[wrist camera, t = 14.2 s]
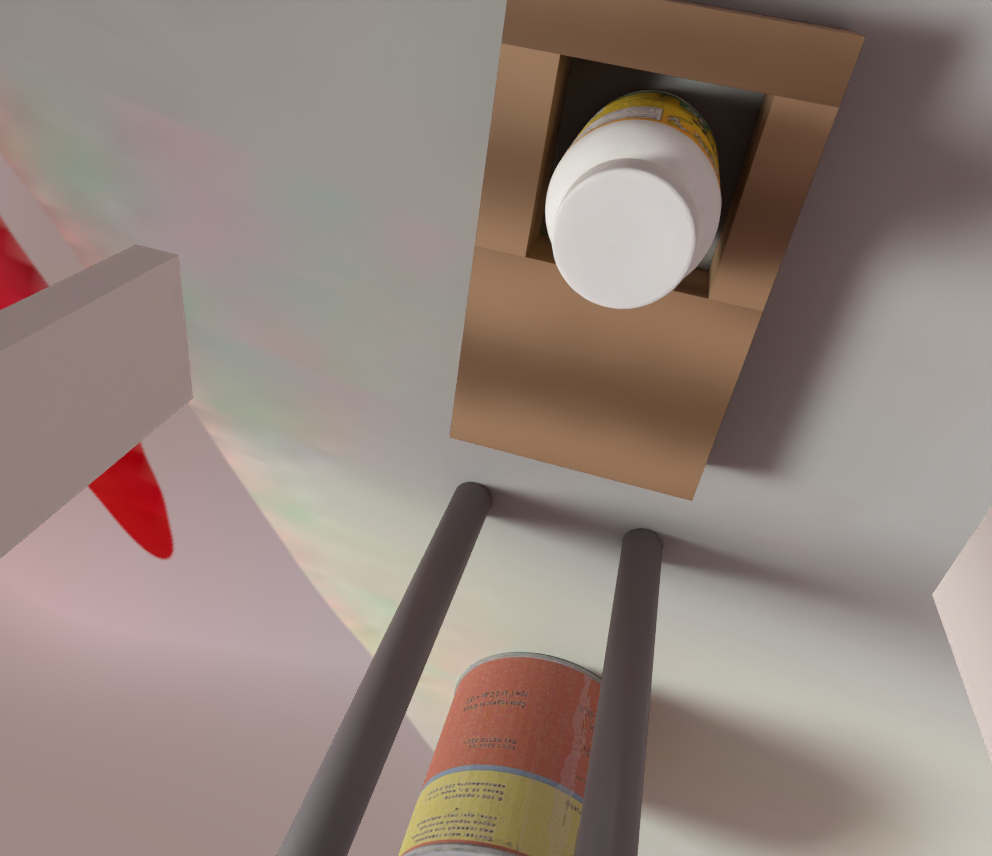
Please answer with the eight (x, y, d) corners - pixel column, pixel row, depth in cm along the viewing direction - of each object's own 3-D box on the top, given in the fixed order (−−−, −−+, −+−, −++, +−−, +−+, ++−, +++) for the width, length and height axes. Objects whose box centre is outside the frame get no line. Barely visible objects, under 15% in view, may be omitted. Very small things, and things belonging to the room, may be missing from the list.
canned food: (461, 755, 51) (401, 946, 41) (448, 638, 45) (374, 828, 35) (627, 787, 48) (606, 999, 38) (636, 668, 42) (613, 881, 32)
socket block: (529, -27, 26) (510, -27, 23) (849, 30, 25) (865, 36, 22) (467, 405, 36) (449, 437, 33) (693, 462, 34) (691, 500, 32)
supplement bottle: (564, 104, 28) (508, 158, 20) (712, 73, 26) (715, 118, 18) (587, 243, 30) (545, 340, 22) (724, 223, 29) (730, 320, 21)
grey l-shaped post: (470, 308, 33) (1, 965, 11) (738, 372, 32) (805, 1276, 10) (443, 505, 39) (111, 1171, 17) (666, 566, 38) (607, 1379, 16)
